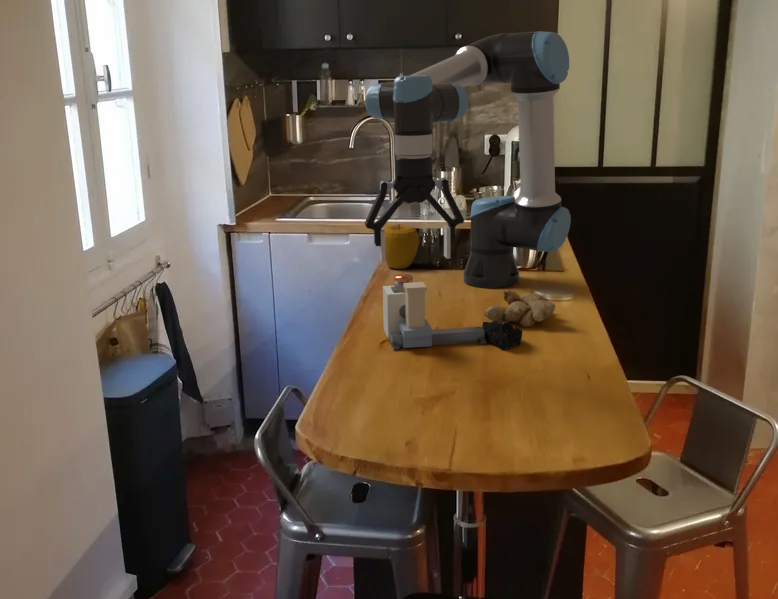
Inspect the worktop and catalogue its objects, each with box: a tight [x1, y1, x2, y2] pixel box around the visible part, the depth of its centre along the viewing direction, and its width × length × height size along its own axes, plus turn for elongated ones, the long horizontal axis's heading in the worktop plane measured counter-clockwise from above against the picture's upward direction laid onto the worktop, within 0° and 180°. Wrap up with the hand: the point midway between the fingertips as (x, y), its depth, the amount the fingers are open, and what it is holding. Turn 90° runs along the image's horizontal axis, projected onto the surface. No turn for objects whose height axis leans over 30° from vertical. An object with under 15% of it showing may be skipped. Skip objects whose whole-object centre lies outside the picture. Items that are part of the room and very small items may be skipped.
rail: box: [388, 326, 487, 351], centre depth 169 cm, size 20×6×2 cm, turn 99°
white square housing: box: [382, 285, 406, 339], centre depth 174 cm, size 8×7×10 cm
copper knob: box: [393, 273, 413, 293], centre depth 173 cm, size 4×4×6 cm
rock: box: [481, 321, 523, 351], centre depth 169 cm, size 7×10×6 cm
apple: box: [382, 223, 420, 270], centre depth 232 cm, size 11×11×13 cm
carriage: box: [399, 281, 433, 349], centre depth 166 cm, size 6×7×13 cm
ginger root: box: [483, 289, 556, 328], centre depth 182 cm, size 16×16×8 cm
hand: (415, 259), depth 163 cm, fingers open, 13 cm apart
